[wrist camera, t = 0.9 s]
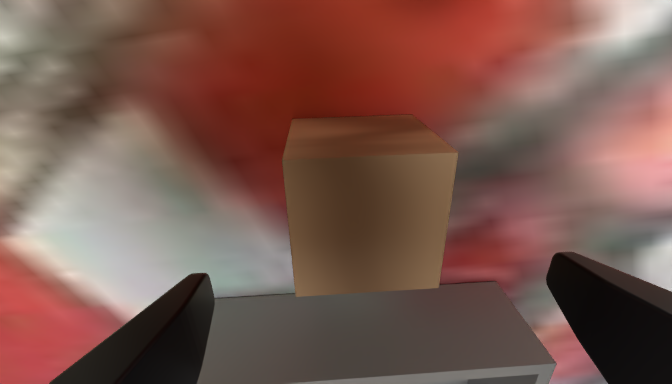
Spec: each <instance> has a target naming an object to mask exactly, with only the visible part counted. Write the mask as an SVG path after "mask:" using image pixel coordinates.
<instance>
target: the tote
mask: <svg viewBox="0 0 672 384" xmlns="http://www.w3.org/2000/svg"><path fill="white" fill-rule="evenodd" d="M556 364H557V363H556V362H555V361H554V359H553V358H552V357H551V355H550V354H549V352H548V351H547V350H546V348H545V347H544V346H543V344H542V343H541V342H540V340H539V339H538V338H537V336H536V335H535V334H534V332H533V331H532V329H531V328H530V327H529V325H528V324H527V323H526V321H525V320H524V319H523V317H522V316H521V315H520V313H519V312H518V310H517V309H516V308H515V306H514V305H513V304H512V302H511V301H510V300H509V298H508V297H507V296H506V294H505V293H504V292H503V290H502V289H501V287H500V286H499V285H498V283H497V282H496V281H492V282H476V283H460V284H444V285H439V288H431V289H415V290H399V291H383V292H367V293H350V294H334V295H318V296H302V297H296V294H282V295H266V296H250V297H234V298H218V299H215V306H214V312H213V317H212V321H211V326H210V331H209V336H208V341H207V346H206V351H205V356H204V360H203V365H202V368H201V372H200V375H199V378H198V381H197V384H549V381H550V379H551V376H552V374H553V371H554V369H555V366H556Z"/></svg>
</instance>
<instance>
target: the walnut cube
mask: <svg viewBox="0 0 672 384" xmlns="http://www.w3.org/2000/svg"><path fill="white" fill-rule="evenodd" d="M457 159H458V152H457V151H456V150H455V149H454V148H453V147H451V146H450V145H449V144H448V143H446V142H445V141H444V140H443V139H441V138H440V137H439V136H438V135H437V134H435V133H434V132H433V131H432V130H430V129H429V128H428V127H427V126H426V125H424V124H423V123H422V122H421V121H419V120H418V119H417V118H416V117H415V116H413V115H412V114H405V115H378V116H352V117H325V118H298V119H292V122H291V126H290V130H289V134H288V138H287V142H286V146H285V150H284V154H283V158H282V166H283V176H284V185H285V195H286V205H287V215H288V225H289V235H290V245H291V255H292V265H293V275H294V285H295V294H296V297H302V296H318V295H334V294H350V293H367V292H383V291H399V290H415V289H431V288H439V282H440V275H441V268H442V262H443V255H444V248H445V241H446V234H447V227H448V221H449V214H450V207H451V200H452V193H453V186H454V180H455V173H456V166H457Z"/></svg>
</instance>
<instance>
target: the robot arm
mask: <svg viewBox="0 0 672 384" xmlns="http://www.w3.org/2000/svg"><path fill="white" fill-rule="evenodd" d="M546 282H547V285H548V288H549V289H550V291H551V293H552V295H553V297H554V298H555V300H556V302H557V304H558V305H559V307H560V309H561V311H562V312H563V314H564V316H565V318H566V320H567V321H568V323H569V325H570V327H571V328H572V330H573V332H574V334H575V335H576V337H577V339H578V340H579V342H580V343H581V345H582V346H583V348H584V349H585V351H586V352H587V354H588V355H589V357H590V358H591V359H592V361H593V362H594V364H595V365H596V367H597V368H598V370H599V371H600V372H601V374H602V375H603V377H604V378H605V380H606V381H607V383H608V384H672V292H671V291H668V290H666V289H663V288H661V287H658V286H656V285H653V284H651V283H649V282H646V281H644V280H641V279H639V278H636V277H634V276H631V275H629V274H626V273H624V272H621V271H619V270H616V269H614V268H612V267H609V266H607V265H604V264H602V263H599V262H597V261H594V260H592V259H589V258H587V257H584V256H582V255H580V254H577V253H574V252H558V253H556V254H555V255H554V256H553V258H552V261H551V264H550V267H549V270H548V273H547V277H546ZM214 306H215V298H214V293H213V289H212V285H211V281H210V277H209V275H208V274H207V273H194V274H190V275H188V276H187V277H186V278H184V279H183V280H182V281H180V282H179V283H178V284H177V285H175V286H174V287H173V288H171V289H170V290H169V291H168V292H166V293H165V294H164V295H162V296H161V297H160V298H158V299H157V300H156V301H155V302H153V303H152V304H151V305H149V306H148V307H147V308H145V309H144V310H143V311H142V312H140V313H139V314H138V315H136V316H135V317H134V318H133V319H131V320H130V321H129V322H127V323H126V324H125V325H123V326H122V327H121V328H120V329H118V330H117V331H116V332H114V333H113V334H112V335H111V336H109V337H108V338H107V339H105V340H104V341H103V342H101V343H100V344H99V345H98V346H96V347H95V348H94V349H92V350H91V351H90V352H89V353H87V354H86V355H85V356H83V357H82V358H81V359H79V360H78V361H77V362H76V363H74V364H73V365H72V366H70V367H69V368H68V369H66V370H65V371H64V372H63V373H61V374H60V375H59V376H57V377H56V378H55V379H54V380H52V381H51V382H50V383H49V384H197V381H198V378H199V375H200V372H201V368H202V365H203V360H204V356H205V351H206V346H207V341H208V336H209V331H210V326H211V321H212V317H213V312H214Z"/></svg>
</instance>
